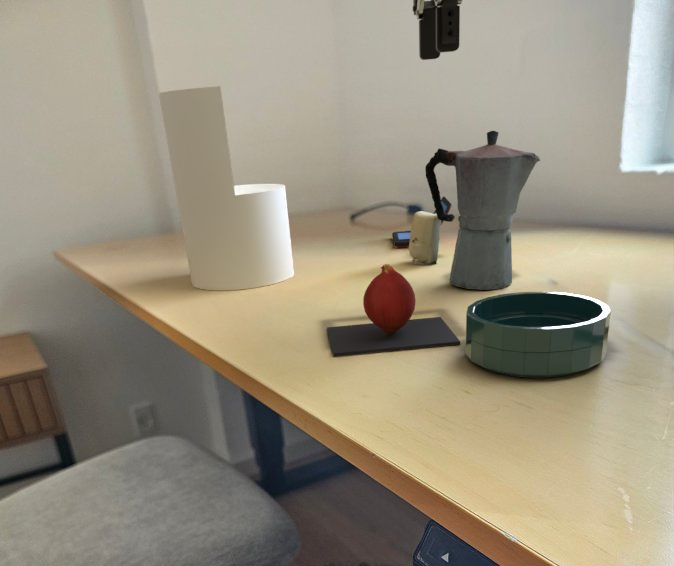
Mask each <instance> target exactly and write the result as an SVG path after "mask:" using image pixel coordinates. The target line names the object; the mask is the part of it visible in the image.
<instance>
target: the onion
mask: <svg viewBox="0 0 674 566" xmlns="http://www.w3.org/2000/svg"><path fill="white" fill-rule="evenodd" d="M380 269H381V272H380V273H379V274H378V275H376V276H375V277H374V278H373V279H372V280H371V281H370V283H369V284H368V285H367V287H366V289H365V292H364V294H363V298H362V299H363V300H362V303H363V310H364V313H365V315H366V316H367V318H368V319H369V321H370V322H371V323H374V324H375V325H376V326H378V327H379V328H380V329H382V330H383V331H384V332H385V333H386V334H394V333H395V332H396V331H398V330H399V329H400V328H402V327H403V326H404V325H405V324H406V323H407V322H408V321H409V320H411V318H412V316H413V314H414V312H415V310H416V304H417V303H416V302H417V299H416V294H415V291H414V289H413V286H412V285H411V283H410V282H409V281H408V280H407V278H406V277H404V275H403V274H402V273H400V272H398V271H396V270H395V268H394V267H393V266H392V265H391V264H389V263H385V264H383V265H382V266H381V267H380Z"/></svg>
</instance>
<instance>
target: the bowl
mask: <svg viewBox="0 0 674 566" xmlns="http://www.w3.org/2000/svg"><path fill="white" fill-rule="evenodd" d="M611 313H612V311H611V308H610V306H609V305H608V304H606V303H604V302H603V301H601V300H599V299H596V298H593V297H590V296H586V295H581V294H574V293H568V292H560V291H559V292H557V291H519V292H510V293H502V294H497V295H490V296H486V297H484V298H481V299H478V300H476V301H474V302H472V303H471V304H470V305H468V306H467V309H466V316H465V320H466V321H465V355H466V357H467V358H468V359H469V360H470V361H471V362H472V363H474V364H475V365H478V366H480V367H482V368H484V369H485V370H488V371H491V372H494V373H497V374H500V375H505V376H511V377H518V378H530V379H534V378H536V379H543V378H544V379H545V378H557V377H565V376H570V375H574V374H578V373H580V372H583V371H585V370H589V369H590V368H593V367H594V366H596V365H598V364H600V363H602V361H603V360H604V358H605V357H606V355H607V347H608V338H609V330H610V321H611Z"/></svg>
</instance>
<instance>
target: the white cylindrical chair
mask: <svg viewBox="0 0 674 566" xmlns="http://www.w3.org/2000/svg"><path fill="white" fill-rule="evenodd" d="M158 97H159V103H160V108H161V114H162V115H161V116H162V120H163V126H164V131H165V138H166V144H167V149H168V155H169V160H170V167H171V171H172V177H173V178H172V179H173V183H174V189H175V194H176V200H177V207H178V211H179V212H178V213H179V218H180V224H181V229H182V235H183V242H184V247H185V252H186V258H187V265H188V270H189V276H190V281H191V285H192V286H193V287H194V288H197V289H199V290H206V291H239V290H249V289H256V288H263V287H266V286H271V285H275V284H279V283H282V282H284V281H287V280H289V279H291V278H292V277H293V276H295V270H294V259H293V250H292V240H291V230H290V220H289V210H288V201H287V191H286V190H287V189H286V184H282V183H250V184H236V185H235V184H234V176H233V169H232V162H231V161H232V160H231V154H230V146H229V140H228V132H227V123H226V117H225V110H224V104H223V96H222V88H221V85H219V86H217V85H216V86H206V87H194V88H184V89H176V90H169V91H162V92H158Z"/></svg>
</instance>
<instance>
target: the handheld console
mask: <svg viewBox="0 0 674 566" xmlns="http://www.w3.org/2000/svg"><path fill="white" fill-rule="evenodd" d="M440 202H441V204H442V206H443V209H444V212H445V213H446V214H450V211H451V209H452V203H451V202H450V201H449V199H447V197H446V196H442V197H441V201H440ZM432 214H437V213H436V209H434V211H433V213H432ZM444 222H445V221H443V220H441V226H442V225H443V224H444ZM410 233H411V230H404V231H403V230H402V231H401V230H400V231H394V232H392V233H391V237H392V241H393V245H394V247H395V248H399V249H402V248H403V249H404V248H409V243H410Z"/></svg>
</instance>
